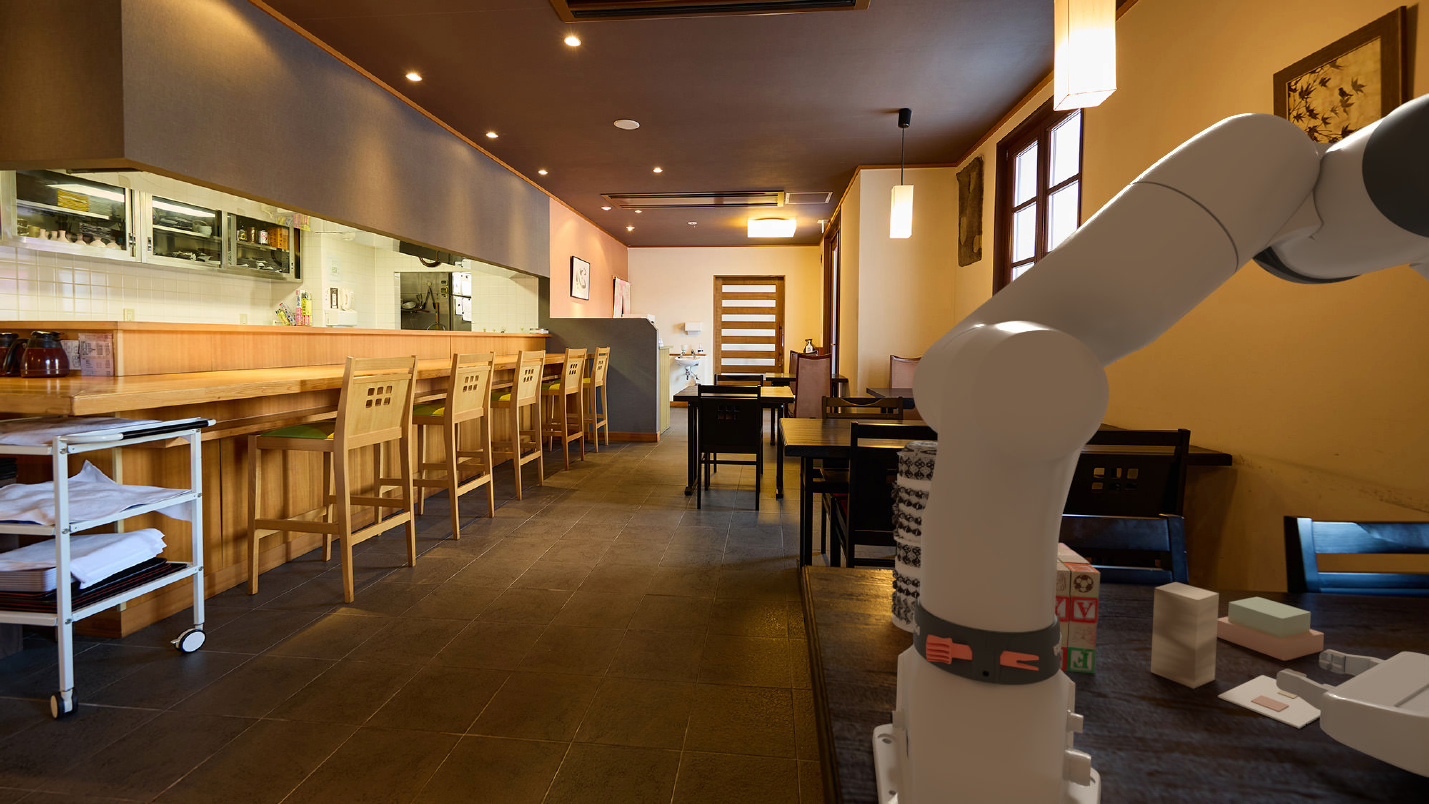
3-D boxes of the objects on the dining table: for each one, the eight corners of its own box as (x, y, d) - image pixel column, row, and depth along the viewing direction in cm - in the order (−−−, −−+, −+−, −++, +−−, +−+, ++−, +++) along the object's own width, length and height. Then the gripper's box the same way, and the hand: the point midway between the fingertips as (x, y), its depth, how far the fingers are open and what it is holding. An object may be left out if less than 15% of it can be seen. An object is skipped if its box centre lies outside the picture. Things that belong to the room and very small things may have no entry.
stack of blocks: (995, 605, 99) (997, 524, 98) (1040, 608, 98) (1043, 526, 97) (1038, 670, 78) (1042, 567, 77) (1096, 675, 77) (1101, 570, 76)
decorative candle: (875, 615, 94) (879, 440, 93) (929, 607, 98) (933, 438, 96) (914, 640, 86) (919, 448, 84) (973, 631, 89) (978, 445, 87)
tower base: (1322, 652, 84) (1325, 613, 83) (1284, 663, 81) (1286, 622, 80) (1251, 629, 91) (1253, 593, 91) (1214, 637, 88) (1215, 600, 88)
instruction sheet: (1299, 728, 65) (1299, 725, 65) (1218, 697, 72) (1218, 694, 72) (1341, 704, 70) (1342, 701, 70) (1262, 676, 76) (1262, 674, 76)
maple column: (1214, 679, 76) (1219, 593, 75) (1193, 688, 74) (1198, 600, 73) (1171, 663, 80) (1175, 581, 79) (1150, 672, 77) (1154, 587, 77)
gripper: (1549, 670, 60) (1346, 618, 72) (1475, 729, 50) (1255, 656, 62) (1543, 739, 60) (1342, 675, 72) (1469, 810, 50) (1251, 722, 62)
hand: (1301, 667), depth 67 cm, fingers open, 8 cm apart
